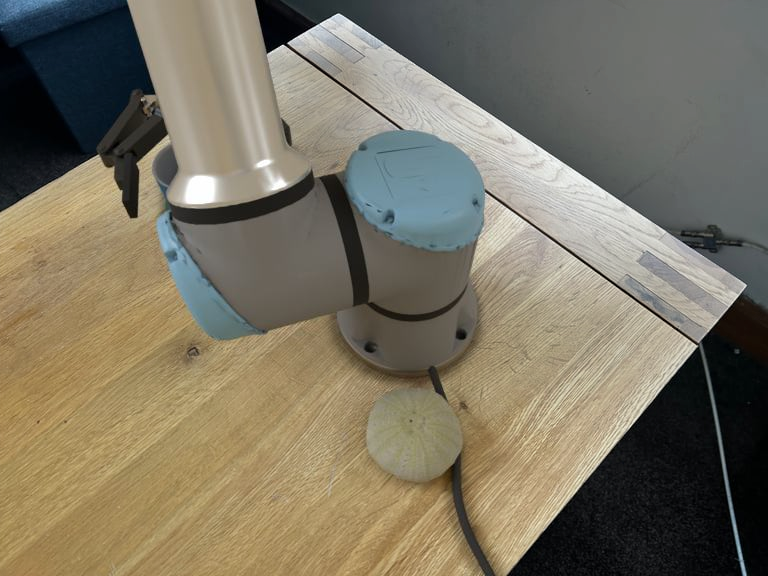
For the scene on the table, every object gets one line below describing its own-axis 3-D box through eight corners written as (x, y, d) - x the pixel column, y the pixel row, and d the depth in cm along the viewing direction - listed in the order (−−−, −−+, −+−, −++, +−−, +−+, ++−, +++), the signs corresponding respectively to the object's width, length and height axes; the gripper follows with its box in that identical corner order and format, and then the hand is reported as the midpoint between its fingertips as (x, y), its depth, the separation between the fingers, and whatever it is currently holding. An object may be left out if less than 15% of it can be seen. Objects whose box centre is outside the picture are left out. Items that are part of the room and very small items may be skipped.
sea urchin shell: (420, 509, 59) (378, 443, 57) (378, 481, 66) (339, 421, 64) (489, 442, 63) (452, 377, 60) (442, 422, 70) (407, 363, 67)
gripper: (303, 79, 83) (323, 210, 71) (97, 100, 80) (85, 239, 69) (297, 27, 76) (318, 162, 65) (74, 48, 74) (56, 192, 63)
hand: (198, 202), depth 67 cm, fingers open, 13 cm apart
